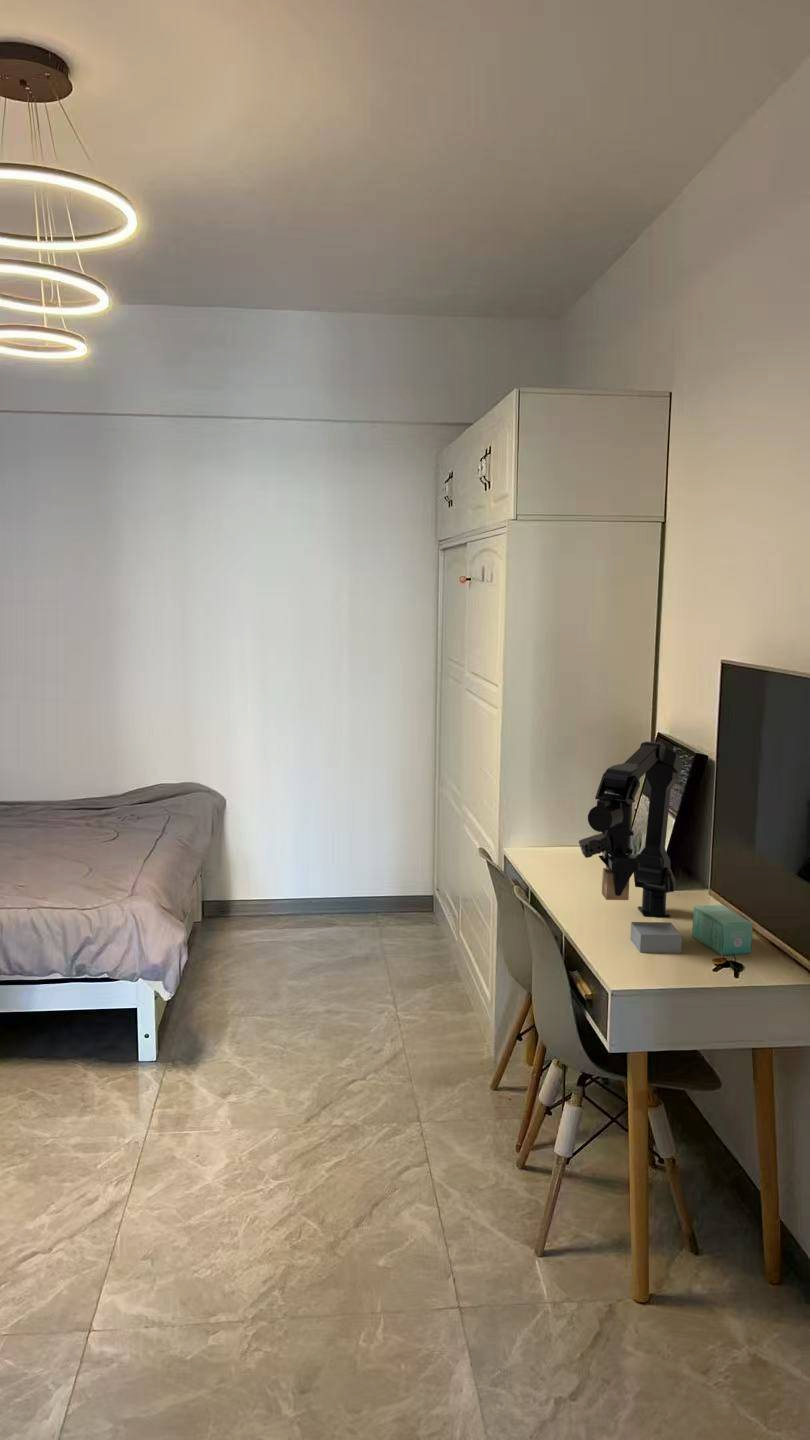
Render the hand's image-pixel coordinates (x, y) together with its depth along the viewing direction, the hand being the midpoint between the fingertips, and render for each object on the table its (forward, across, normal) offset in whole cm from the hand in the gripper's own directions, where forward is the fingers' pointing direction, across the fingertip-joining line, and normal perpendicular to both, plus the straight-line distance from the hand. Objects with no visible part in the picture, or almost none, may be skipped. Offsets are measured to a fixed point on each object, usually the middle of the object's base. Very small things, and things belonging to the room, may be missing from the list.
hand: (615, 892), depth 245 cm
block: (+1, 0, 0) cm, 1 cm away
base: (+10, +6, +8) cm, 14 cm away
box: (+11, +5, +23) cm, 26 cm away
